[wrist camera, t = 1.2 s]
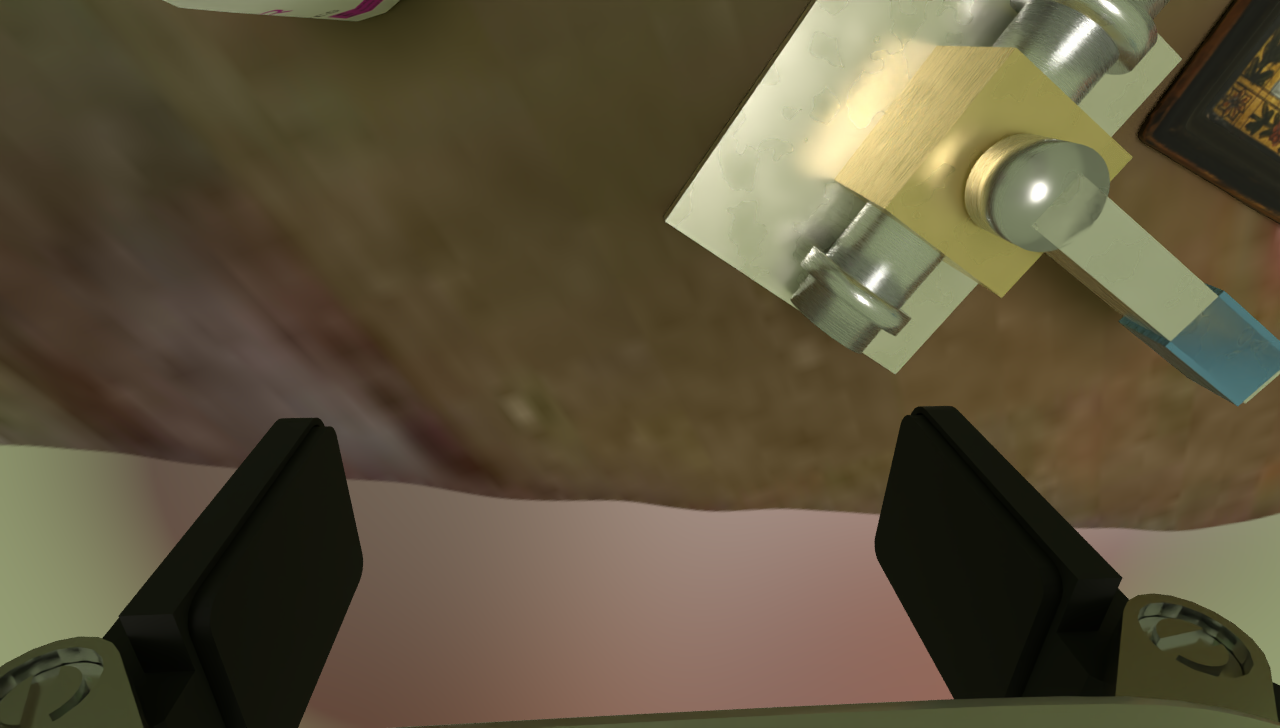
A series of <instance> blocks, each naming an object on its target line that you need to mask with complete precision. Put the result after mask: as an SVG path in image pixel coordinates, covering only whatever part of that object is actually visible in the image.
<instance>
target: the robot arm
mask: <svg viewBox="0 0 1280 728" xmlns="http://www.w3.org/2000/svg"><path fill="white" fill-rule="evenodd" d="M875 552H876V556H877V559H878V561H879V563H880V565H881V567H882V569H883V571H884V572H885V574H886V576H887V578H888V580H889V581H890V583H891V585H892V587H893V589H894V590H895V592H896V594H897V596H898V598H899V600H900V601H901V603H902V605H903V607H904V609H905V610H906V612H907V614H908V616H909V617H910V620H911V621H912V623H913V625H914V627H915V629H916V631H917V632H918V634H919V636H920V638H921V639H922V641H923V643H924V645H925V647H926V649H927V651H928V652H929V654H930V656H931V658H932V659H933V661H934V663H935V665H936V667H937V669H938V671H939V672H940V674H941V676H942V677H943V680H944V681H945V683H946V685H947V687H948V688H949V691H950V692H951V694H952V696H953V698H954V699H953V700H952V699H951V700H928V701H906V702H886V703H885V702H884V703H862V704H839V705H819V706H818V705H817V706H794V707H773V708H754V709H733V710H714V711H693V712H674V713H654V714H636V715H635V714H634V715H616V716H596V717H577V718H558V719H541V720H540V719H539V720H522V721H506V722H487V723H469V724H451V725H433V726H416V727H398V728H1280V685H1277V684H1275V683H1273V682H1272V677H1271V670H1270V667H1269V664H1268V662H1267V659H1266V657H1265V654H1264V653H1263V652H1262V650H1261V649H1260V648H1259V647H1258V646H1257V644H1256V643H1255V642H1254V641H1253V639H1251V638H1250V637H1249V636H1248V635H1247V634H1246V633H1244V632H1243V631H1242V630H1241V629H1239V628H1238V627H1237V626H1236V625H1235V624H1233V623H1232V622H1230V621H1228V620H1227V619H1225V618H1223V617H1222V616H1220V615H1219V614H1217V613H1215V612H1213V611H1211V610H1209V609H1207V608H1204V607H1202V606H1200V605H1198V604H1196V603H1193V602H1191V601H1187V600H1184V599H1181V598H1177V597H1174V596H1169V595H1161V594H1146V595H1145V594H1144V595H1138V596H1136V597H1134V598H1132V599H1130V600H1129V599H1128V598H1127V597H1126V596H1125V595H1124V594H1123V593H1122V592H1121V591H1120V590H1119V589H1118V586H1119V584H1120V582H1121V580H1122V577H1121V576H1120V575H1119V574H1118V573H1117V572H1116V571H1115V570H1114V569H1113V568H1112V567H1111V566H1110V565H1109V564H1108V563H1107V562H1106V561H1105V560H1104V559H1103V558H1102V557H1101V556H1100V554H1099V553H1098V552H1097V551H1096V550H1094V548H1093V547H1092V546H1091V545H1090V544H1088V542H1087V541H1086V540H1085V539H1084V538H1083V537H1082V536H1081V535H1080V534H1079V533H1078V532H1077V531H1076V530H1075V529H1074V528H1073V527H1072V526H1071V525H1070V524H1069V523H1068V522H1067V521H1066V520H1065V519H1064V518H1063V517H1062V516H1061V515H1060V514H1059V513H1058V512H1057V511H1056V510H1055V509H1054V508H1053V507H1052V506H1051V505H1050V504H1049V503H1048V502H1047V501H1046V500H1045V499H1044V498H1043V496H1042V495H1041V494H1040V493H1039V492H1038V491H1037V490H1036V489H1035V488H1034V487H1033V486H1032V485H1031V484H1030V483H1029V482H1028V481H1027V480H1026V479H1025V478H1024V477H1023V476H1022V475H1021V474H1020V473H1019V472H1018V471H1017V470H1016V469H1015V468H1014V467H1013V466H1012V465H1011V464H1010V463H1009V462H1008V461H1007V460H1006V459H1005V458H1004V457H1003V456H1002V455H1001V454H1000V453H999V452H998V451H997V450H996V449H995V448H994V447H993V446H992V445H991V444H990V443H989V442H988V441H987V440H986V438H985V437H984V436H983V435H982V434H981V433H980V432H979V431H978V430H977V429H976V428H975V427H974V426H973V425H972V424H971V423H970V422H969V421H968V420H967V419H966V418H965V417H964V416H963V415H962V414H961V413H960V412H959V411H958V410H957V409H956V408H954V407H953V406H923V407H917V408H915V409H914V410H913V412H912V413H911V415H907V416H905V417H904V418H903V419H902V422H901V425H900V430H899V434H898V439H897V443H896V448H895V452H894V456H893V461H892V465H891V470H890V474H889V478H888V483H887V487H886V492H885V496H884V500H883V505H882V509H881V514H880V518H879V523H878V527H877V531H876V536H875ZM362 570H363V556H362V551H361V546H360V541H359V536H358V532H357V527H356V523H355V518H354V513H353V509H352V504H351V500H350V495H349V490H348V486H347V481H346V476H345V472H344V467H343V463H342V458H341V453H340V449H339V444H338V440H337V435H336V432H335V430H334V428H333V427H331V426H330V427H325V426H324V424H323V422H322V421H321V419H319V418H283V419H279V420H277V421H276V422H275V423H274V425H273V426H272V427H271V428H270V429H269V431H268V432H267V433H266V434H265V436H264V437H263V438H262V439H261V441H260V442H259V443H258V444H257V446H256V447H255V448H254V449H253V451H252V452H251V453H250V454H249V455H248V457H247V458H246V459H245V460H244V462H243V463H242V464H241V465H240V467H239V468H238V469H237V470H236V472H235V473H234V474H233V475H232V476H231V478H230V479H229V480H228V481H227V483H226V484H225V485H224V486H223V488H222V489H221V490H220V491H219V493H218V494H217V495H216V496H215V497H214V499H213V500H212V501H211V502H210V504H209V505H208V506H207V507H206V509H205V510H204V511H203V512H202V514H201V515H200V516H199V517H198V518H197V520H196V521H195V522H194V524H193V525H192V526H191V527H190V529H189V530H188V531H187V532H186V533H185V535H184V536H183V537H182V538H181V540H180V541H179V542H178V543H177V544H176V546H175V547H174V548H173V549H172V551H171V552H170V553H169V554H168V556H167V557H166V558H165V559H164V561H163V562H162V563H161V564H160V565H159V567H158V568H157V569H156V570H155V572H154V573H153V574H152V575H151V577H150V578H149V579H148V580H147V582H146V583H145V584H144V585H143V587H142V588H141V589H140V590H139V591H138V593H137V594H136V595H135V596H134V598H133V599H132V600H131V602H130V603H129V604H128V605H127V606H126V607H125V609H124V610H123V611H122V612H121V614H120V615H119V618H118V620H117V621H116V622H115V623H114V625H113V626H112V627H111V629H110V630H109V631H108V632H107V633H106V635H105V636H104V637H103V638H99V637H75V638H69V639H64V640H59V641H55V642H52V643H50V644H47V645H44V646H41V647H38V648H35V649H33V650H31V651H28V652H27V653H25V654H23V655H21V656H19V657H17V658H15V659H13V660H11V661H9V662H7V663H6V664H4V665H3V666H1V667H0V728H298V727H299V724H300V722H301V719H302V717H303V714H304V712H305V710H306V707H307V705H308V703H309V700H310V698H311V696H312V693H313V691H314V688H315V686H316V684H317V681H318V679H319V676H320V674H321V672H322V669H323V667H324V664H325V662H326V659H327V657H328V655H329V653H330V650H331V648H332V645H333V643H334V641H335V638H336V636H337V634H338V631H339V629H340V626H341V624H342V622H343V619H344V617H345V614H346V612H347V610H348V607H349V605H350V602H351V600H352V598H353V595H354V593H355V591H356V588H357V586H358V583H359V581H360V578H361V575H362Z"/></svg>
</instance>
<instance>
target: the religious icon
mask: <svg viewBox="0 0 1280 728" xmlns="http://www.w3.org/2000/svg"><path fill="white" fill-rule="evenodd" d="M1138 137H1139V139H1140V140H1141V141H1142V142H1144V143H1146V144H1147V145H1149V146H1151V147H1152V148H1154V149H1155V150H1157V151H1159V152H1161V153H1162V154H1164V155H1166V156H1168V157H1169V158H1170V159H1172V160H1173V161H1175V162H1177V163H1179V164H1180V165H1182V166H1183V167H1185V168H1187V169H1188V170H1190V171H1192V172H1194V173H1195V174H1197V175H1199V176H1200V177H1202V178H1204V179H1205V180H1207V181H1209V182H1211V183H1212V184H1214V185H1216V186H1217V187H1219V188H1220V189H1222V190H1224V191H1226V192H1227V193H1228V194H1230V195H1231V196H1233V197H1234V198H1236V199H1238V200H1239V201H1241V202H1242V203H1243V204H1245V205H1247V206H1248V207H1250V208H1252V209H1254V210H1256V211H1257V212H1259V213H1261V214H1263V215H1265V216H1267V217H1269V218H1270V219H1272V220H1274V221H1276V222H1277V223H1279V224H1280V0H1235V1H1234V2H1233V3H1232V5H1231V6H1230V7H1229V9H1228V10H1227V11H1226V13H1225V14H1224V15H1223V17H1222V18H1221V19H1220V21H1219V22H1218V24H1217V25H1216V26H1215V28H1214V29H1213V30H1212V32H1211V33H1210V34H1209V36H1208V37H1207V38H1206V40H1205V41H1204V42H1203V44H1202V45H1201V46H1200V48H1199V49H1198V51H1197V52H1196V53H1195V54H1194V56H1193V57H1192V59H1191V60H1190V61H1189V63H1188V64H1187V65H1186V67H1185V68H1184V69H1183V71H1182V72H1181V74H1180V75H1179V76H1178V78H1177V79H1176V80H1175V82H1174V83H1173V84H1172V86H1171V87H1170V88H1169V90H1168V91H1167V92H1166V94H1165V95H1164V97H1163V98H1162V99H1161V101H1160V102H1159V103H1158V105H1157V106H1156V107H1155V109H1154V110H1153V111H1152V113H1151V114H1150V116H1149V117H1148V118H1147V120H1146V121H1145V123H1144V124H1143V126H1142V127H1141V129H1140V131H1139V133H1138Z"/></svg>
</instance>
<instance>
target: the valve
mask: <svg viewBox="0 0 1280 728" xmlns="http://www.w3.org/2000/svg"><path fill="white" fill-rule="evenodd" d="M1169 1H1170V0H811V2H810V3H809V4H808V6H807V7H806V9H805V10H804V12H803V13H802V15H801V16H800V18H799V19H798V21H797V22H796V23H795V25H794V26H793V28H792V29H791V31H790V32H789V34H788V35H787V37H786V38H785V40H784V41H783V43H782V44H781V45H780V47H779V48H778V50H777V51H776V53H775V54H774V56H773V57H772V59H771V60H770V62H769V63H768V64H767V66H766V67H765V69H764V70H763V72H762V73H761V75H760V76H759V78H758V79H757V81H756V82H755V83H754V85H753V86H752V88H751V89H750V91H749V92H748V94H747V95H746V97H745V98H744V100H743V101H742V102H741V104H740V105H739V107H738V108H737V110H736V111H735V113H734V114H733V116H732V117H731V119H730V120H729V121H728V123H727V124H726V126H725V127H724V129H723V130H722V132H721V133H720V135H719V136H718V138H717V139H716V140H715V142H714V143H713V145H712V146H711V148H710V149H709V151H708V152H707V154H706V155H705V157H704V158H703V159H702V161H701V162H700V164H699V165H698V167H697V168H696V170H695V171H694V173H693V174H692V176H691V177H690V179H689V180H688V181H687V183H686V184H685V186H684V187H683V189H682V190H681V192H680V193H679V195H678V196H677V198H676V199H675V200H674V202H673V203H672V205H671V206H670V208H669V209H668V211H667V212H666V214H665V215H664V217H663V218H664V220H665V222H667V223H668V224H670V225H671V226H673V227H674V228H676V229H677V230H679V231H680V232H682V233H683V234H685V235H686V236H688V237H689V238H691V239H692V240H694V241H695V242H697V243H698V244H700V245H701V246H703V247H704V248H706V249H707V250H709V251H710V252H712V253H713V254H715V255H716V256H718V257H719V258H721V259H722V260H724V261H725V262H727V263H728V264H730V265H731V266H733V267H734V268H736V269H737V270H739V271H740V272H742V273H743V274H745V275H747V276H748V277H750V278H751V279H753V280H754V281H756V282H757V283H759V284H760V285H762V286H763V287H765V288H766V289H768V290H769V291H771V292H772V293H774V294H775V295H777V296H778V297H780V298H781V299H783V300H784V301H786V302H787V303H789V304H790V305H792V306H793V307H795V308H796V309H798V310H799V311H800V312H801V313H802V314H803V315H804V316H806V317H807V318H808V319H809V320H810V321H811V322H813V323H814V324H815V325H816V326H817V327H819V328H820V329H821V330H823V331H824V332H825V333H826V334H828V335H829V336H831V337H832V338H833V339H835V340H836V341H838V342H839V343H841V344H842V345H844V346H845V347H847V348H849V349H850V350H852V351H854V352H856V353H859V354H861V353H864V354H865V355H867V356H868V357H870V358H872V359H873V360H875V361H876V362H878V363H879V364H881V365H882V366H884V367H885V368H887V369H888V370H890V371H891V372H893V373H894V374H896V373H897V372H898V371H899V370H900V369H901V368H902V367H903V365H904V364H905V363H906V362H907V361H908V360H909V359H910V358H911V357H912V356H913V354H914V353H915V352H916V351H917V350H918V349H919V348H920V347H921V346H922V345H923V343H924V342H925V341H926V340H927V339H928V338H929V337H930V336H931V335H932V334H933V332H934V331H935V330H936V329H937V328H938V327H939V326H940V325H941V324H942V323H943V321H944V320H945V319H946V318H947V317H948V316H949V315H950V314H951V313H952V312H953V310H954V309H955V308H956V307H957V306H958V305H959V304H960V303H961V302H962V301H963V299H964V298H965V297H966V296H967V295H968V294H969V293H970V292H971V291H972V290H973V288H974V287H975V286H976V285H977V284H978V283H979V284H980V285H982V286H983V287H985V288H987V289H988V290H990V291H991V292H993V293H994V294H996V295H998V296H999V297H1001V298H1002V297H1003V296H1004V295H1005V294H1006V293H1007V292H1008V291H1009V289H1010V288H1011V287H1012V286H1013V285H1014V284H1015V283H1016V282H1017V281H1018V280H1019V279H1020V278H1021V277H1022V276H1023V274H1024V273H1025V272H1026V271H1027V270H1028V269H1029V268H1030V267H1031V266H1032V265H1033V264H1034V263H1035V262H1036V261H1037V259H1038V258H1039V257H1040V256H1041V255H1042V254H1043V253H1044V252H1033V251H1028V250H1025V249H1023V248H1021V247H1019V246H1017V245H1015V244H1012V243H1010V242H1008V241H1006V240H1004V239H1002V238H1000V237H998V236H996V235H994V234H992V233H990V232H988V231H986V230H984V229H982V228H980V227H979V226H977V225H976V224H975V223H974V222H973V220H972V219H971V218H970V216H969V214H968V212H967V209H966V204H965V188H966V183H967V180H968V177H969V175H970V172H971V170H972V168H973V167H974V165H975V163H976V162H977V161H978V159H979V158H980V157H981V156H982V155H983V154H984V153H985V152H986V151H987V150H988V149H989V148H990V147H991V146H993V145H994V144H996V143H997V142H999V141H1001V140H1002V139H1005V138H1007V137H1009V136H1013V135H1016V134H1036V135H1041V136H1045V137H1050V138H1054V139H1059V140H1064V141H1068V142H1073V143H1078V144H1082V145H1085V146H1088V147H1090V148H1092V149H1094V150H1095V151H1096V152H1098V153H1099V154H1100V155H1101V157H1102V158H1103V159H1104V161H1105V163H1106V165H1107V168H1108V171H1109V177H1110V181H1111V180H1112V179H1113V178H1114V177H1115V176H1116V175H1117V174H1118V173H1119V171H1120V170H1121V169H1122V168H1123V167H1124V166H1125V165H1126V164H1127V163H1128V162H1129V161H1130V160H1131V159H1132V158H1133V157H1132V156H1131V155H1130V154H1129V153H1127V152H1126V151H1125V150H1124V149H1123V148H1122V147H1121V146H1120V145H1119V144H1118V143H1117V142H1116V141H1115V140H1114V139H1113V138H1112V136H1113V134H1114V133H1115V132H1116V131H1117V130H1118V129H1119V128H1120V127H1121V126H1122V125H1123V123H1124V122H1125V121H1126V120H1127V119H1128V118H1129V117H1130V116H1131V115H1132V114H1133V112H1134V111H1135V110H1136V109H1137V108H1138V107H1139V106H1140V105H1141V104H1142V103H1143V101H1144V100H1145V99H1146V98H1147V97H1148V96H1149V95H1150V94H1151V93H1152V91H1153V90H1154V89H1155V88H1156V87H1157V86H1158V85H1159V84H1160V83H1161V82H1162V80H1163V79H1164V78H1165V77H1166V76H1167V75H1168V74H1169V73H1170V72H1171V71H1172V69H1173V68H1174V67H1175V66H1176V65H1177V64H1178V63H1179V62H1180V61H1181V60H1182V58H1181V57H1180V56H1179V55H1178V54H1177V53H1176V52H1175V51H1174V50H1173V49H1172V48H1171V47H1170V46H1169V45H1168V44H1167V43H1166V41H1165V40H1164V39H1163V38H1162V37H1161V36H1160V35H1159V34H1158V33H1157V29H1156V26H1155V24H1154V22H1153V19H1154V18H1155V17H1156V16H1157V14H1158V13H1159V12H1160V11H1161V10H1162V9H1163V8H1164V6H1165V5H1166V4H1167V3H1168V2H1169Z"/></svg>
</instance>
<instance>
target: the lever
mask: <svg viewBox="0 0 1280 728" xmlns="http://www.w3.org/2000/svg"><path fill="white" fill-rule="evenodd" d="M1109 187H1110V177H1109V171H1108V168H1107V165H1106V163H1105V161H1104V159H1103V158H1102V157H1101V155H1100V154H1099V153H1098V152H1096V151H1095V150H1094V149H1092V148H1090V147H1088V146H1085V145H1082V144H1078V143H1073V142H1068V141H1064V140H1059V139H1054V138H1050V137H1045V136H1041V135H1036V134H1016V135H1013V136H1009V137H1007V138H1005V139H1002V140H1001V141H999V142H997V143H996V144H994V145H993V146H991V147H990V148H989V149H988V150H987V151H986V152H985V153H984V154H983V155H982V156H981V157H980V158H979V159H978V161H977V162H976V163H975V165H974V167H973V168H972V170H971V172H970V175H969V177H968V180H967V183H966V188H965V204H966V209H967V212H968V214H969V216H970V218H971V219H972V220H973V222H974V223H975V224H976V225H977V226H979V227H980V228H982V229H984V230H986V231H988V232H990V233H992V234H994V235H996V236H998V237H1000V238H1002V239H1004V240H1006V241H1008V242H1010V243H1012V244H1015V245H1017V246H1019V247H1021V248H1023V249H1025V250H1028V251H1033V252H1045V253H1046V254H1047V255H1048V256H1050V257H1051V258H1052V259H1053V260H1055V261H1056V262H1057V263H1058V264H1059V265H1061V266H1062V267H1063V268H1064V269H1066V270H1067V271H1068V272H1069V273H1070V274H1072V275H1073V276H1074V277H1075V278H1077V279H1078V280H1079V281H1080V282H1081V283H1083V284H1084V285H1085V286H1086V287H1087V288H1089V289H1090V290H1091V291H1092V292H1094V293H1095V294H1096V295H1097V296H1098V297H1100V298H1101V299H1102V300H1103V301H1105V302H1106V303H1107V304H1108V305H1109V306H1111V307H1112V308H1113V309H1114V310H1116V311H1117V312H1118V313H1119V314H1120V315H1122V316H1123V317H1122V318H1121V319H1120V320H1119V321H1118V322H1120V323H1121V324H1122V325H1123V326H1125V327H1126V328H1127V329H1128V330H1130V331H1131V332H1132V333H1133V334H1134V335H1136V336H1137V337H1138V338H1139V339H1141V340H1142V341H1143V342H1144V343H1146V344H1147V345H1148V346H1149V347H1150V348H1152V349H1153V350H1154V351H1155V352H1157V353H1158V354H1159V355H1160V356H1162V357H1163V358H1164V359H1165V360H1166V361H1168V362H1169V363H1170V364H1171V365H1173V366H1174V367H1175V368H1176V369H1178V370H1179V371H1180V372H1181V373H1182V374H1184V375H1185V376H1186V377H1187V378H1189V379H1191V380H1192V381H1194V382H1196V383H1198V384H1199V385H1201V386H1203V387H1205V388H1207V389H1208V390H1210V391H1212V392H1214V393H1215V394H1217V395H1219V396H1221V397H1222V398H1224V399H1226V400H1228V401H1229V402H1231V403H1233V404H1235V405H1236V406H1239V405H1240V404H1241V403H1242V402H1243V403H1247V402H1248V401H1249V400H1250V399H1251V398H1252V397H1254V396H1255V395H1256V394H1257V393H1258V392H1259V391H1261V390H1262V389H1263V388H1264V387H1265V386H1266V385H1268V384H1269V383H1270V382H1271V381H1272V380H1273V379H1274V378H1276V377H1277V376H1278V375H1279V374H1280V341H1279V340H1278V339H1277V338H1276V337H1275V336H1273V335H1272V334H1271V333H1270V332H1269V331H1268V330H1267V329H1266V328H1265V327H1264V326H1262V325H1261V324H1260V323H1259V322H1258V321H1257V320H1256V319H1255V318H1254V317H1252V316H1251V315H1250V314H1249V313H1248V312H1247V311H1246V310H1245V309H1244V308H1243V307H1241V306H1240V305H1239V304H1238V303H1237V302H1236V301H1235V300H1234V299H1233V298H1232V297H1230V296H1229V295H1228V294H1227V293H1226V292H1225V291H1223V290H1221V289H1218V288H1216V287H1213V286H1211V285H1208V284H1205V283H1203V282H1202V281H1201V280H1200V279H1199V278H1198V277H1196V276H1195V275H1194V274H1193V273H1192V272H1191V271H1190V270H1189V269H1188V268H1186V267H1185V266H1184V265H1183V264H1182V263H1181V262H1180V261H1179V260H1178V259H1176V258H1175V257H1174V256H1173V255H1172V254H1171V253H1170V252H1169V251H1168V250H1166V249H1165V248H1164V247H1163V246H1162V245H1161V244H1160V243H1159V242H1157V241H1156V240H1155V239H1154V238H1153V237H1152V236H1151V235H1150V234H1149V233H1147V232H1146V231H1145V230H1144V229H1143V228H1142V227H1141V226H1140V225H1139V224H1137V223H1136V222H1135V221H1134V220H1133V219H1132V218H1131V217H1130V216H1129V215H1127V214H1126V213H1125V212H1124V211H1123V210H1122V209H1121V208H1120V207H1119V206H1117V205H1116V204H1115V203H1114V202H1113V201H1112V200H1111V199H1110V198H1108V193H1109Z"/></svg>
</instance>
